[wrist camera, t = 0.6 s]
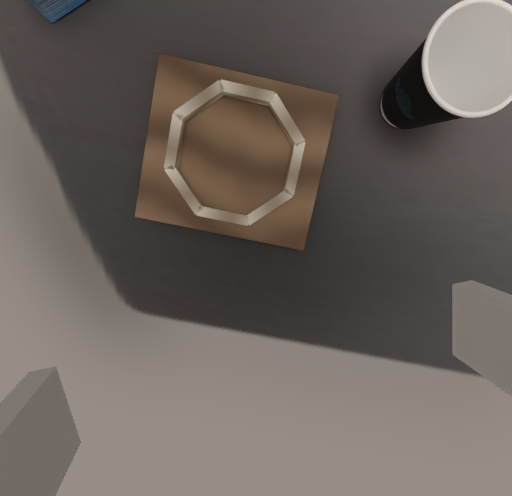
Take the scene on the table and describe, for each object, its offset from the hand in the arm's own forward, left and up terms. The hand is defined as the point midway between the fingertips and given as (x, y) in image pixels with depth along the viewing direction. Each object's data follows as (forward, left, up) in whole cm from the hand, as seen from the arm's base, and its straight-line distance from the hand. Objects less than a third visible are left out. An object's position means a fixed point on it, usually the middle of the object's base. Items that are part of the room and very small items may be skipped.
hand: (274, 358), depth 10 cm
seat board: (-9, -4, -25) cm, 27 cm away
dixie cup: (-18, +12, -25) cm, 33 cm away
